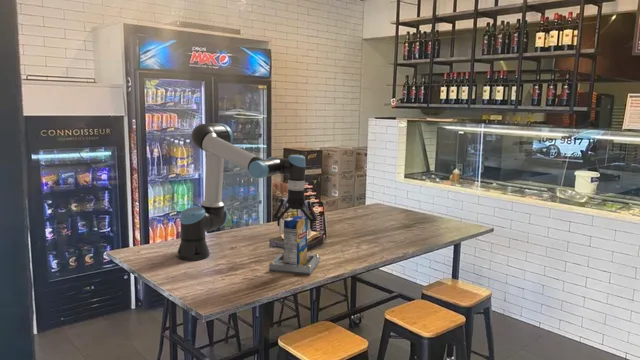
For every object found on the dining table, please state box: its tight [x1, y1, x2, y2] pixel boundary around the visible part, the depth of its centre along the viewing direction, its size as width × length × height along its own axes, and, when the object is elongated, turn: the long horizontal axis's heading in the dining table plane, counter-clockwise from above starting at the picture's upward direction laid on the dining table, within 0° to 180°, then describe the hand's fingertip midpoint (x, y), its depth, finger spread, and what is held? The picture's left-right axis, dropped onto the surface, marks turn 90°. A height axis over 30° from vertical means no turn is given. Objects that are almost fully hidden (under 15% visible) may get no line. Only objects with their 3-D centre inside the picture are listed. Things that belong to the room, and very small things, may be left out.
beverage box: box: [283, 215, 309, 265], centre depth 226 cm, size 7×11×22 cm, turn 157°
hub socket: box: [268, 250, 320, 276], centre depth 227 cm, size 19×19×4 cm
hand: (294, 234), depth 225 cm, fingers open, 13 cm apart
